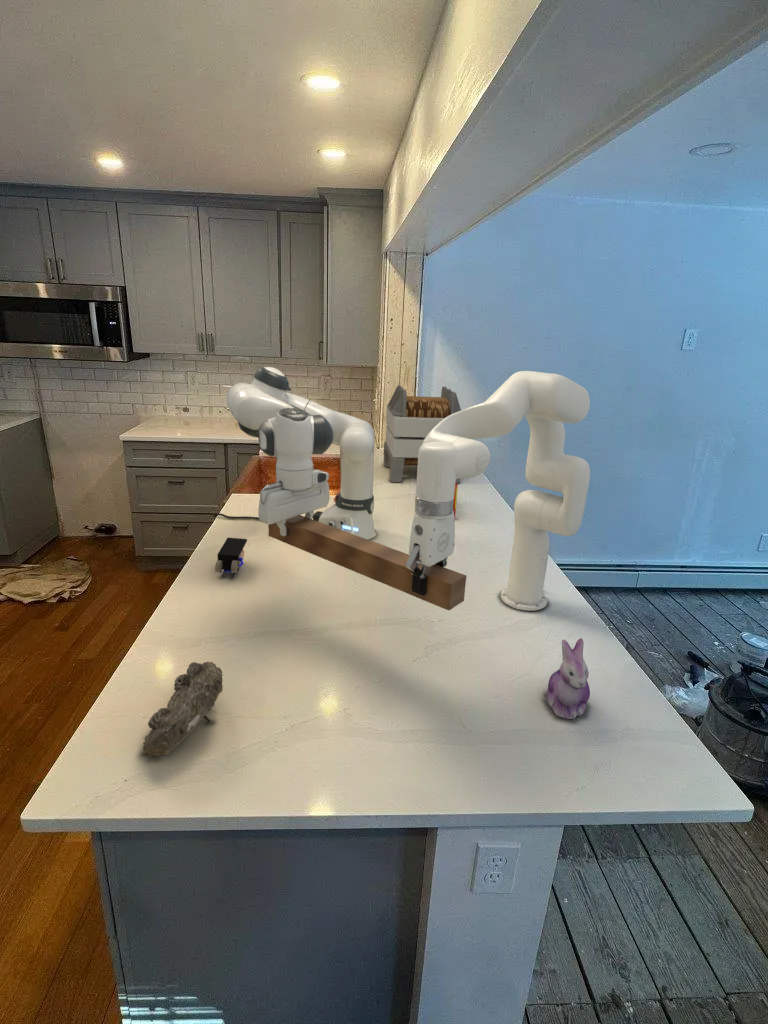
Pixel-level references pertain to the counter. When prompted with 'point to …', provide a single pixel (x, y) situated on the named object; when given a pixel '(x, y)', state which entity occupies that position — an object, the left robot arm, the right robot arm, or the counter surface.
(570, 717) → the figurine
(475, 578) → the counter surface
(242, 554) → the figurine character
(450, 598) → the beam
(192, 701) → the fossil
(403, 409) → the transformer
